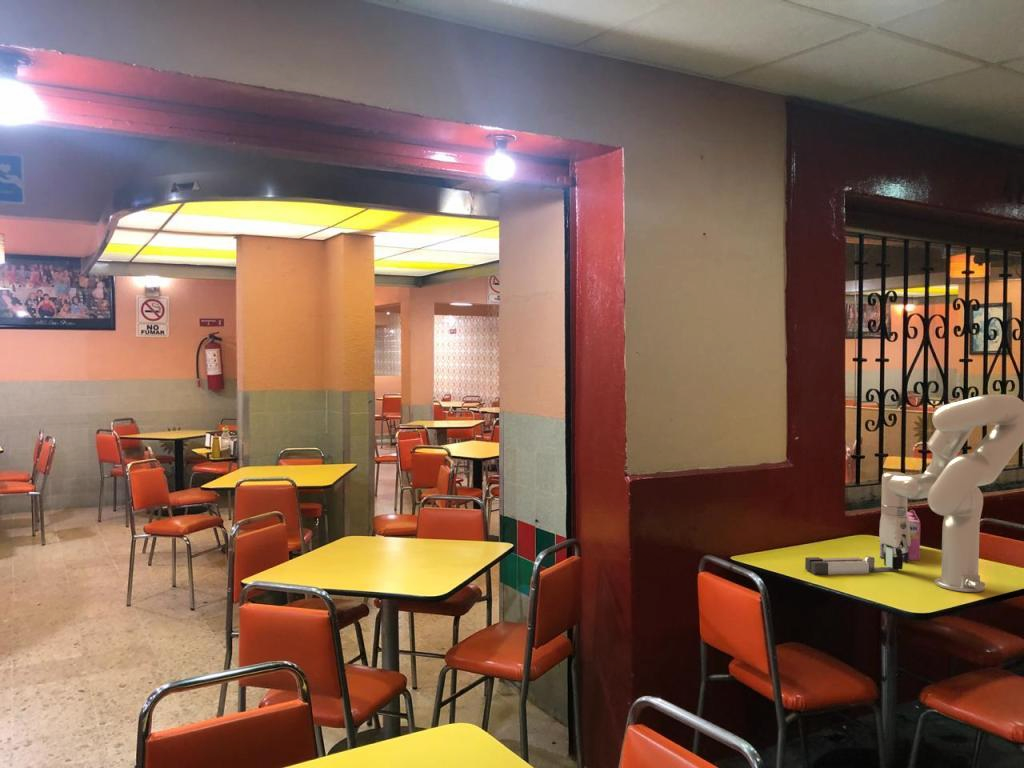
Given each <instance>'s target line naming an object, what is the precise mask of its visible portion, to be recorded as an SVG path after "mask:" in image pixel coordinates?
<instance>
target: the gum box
mask: <svg viewBox="0 0 1024 768" xmlns="http://www.w3.org/2000/svg"><path fill="white" fill-rule="evenodd" d="M907 517H908V519H909V525H910V547H909V548H908V549H909V551H908V553H909V554H908V555H909V557H908V561H917V562H920V552H921V550H920V549H921V547H920V546H921V521H920V519H919V517H918V516H917V514H916V511H915V510H913V509H910V510H909V511H907Z"/></svg>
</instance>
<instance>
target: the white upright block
mask: <svg viewBox="0 0 1024 768" xmlns="http://www.w3.org/2000/svg"><path fill="white" fill-rule="evenodd" d="M899 550H900V549H897V552H898V551H899ZM892 557H894V551H893V547H886V566H885V567H891V568H892Z"/></svg>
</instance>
